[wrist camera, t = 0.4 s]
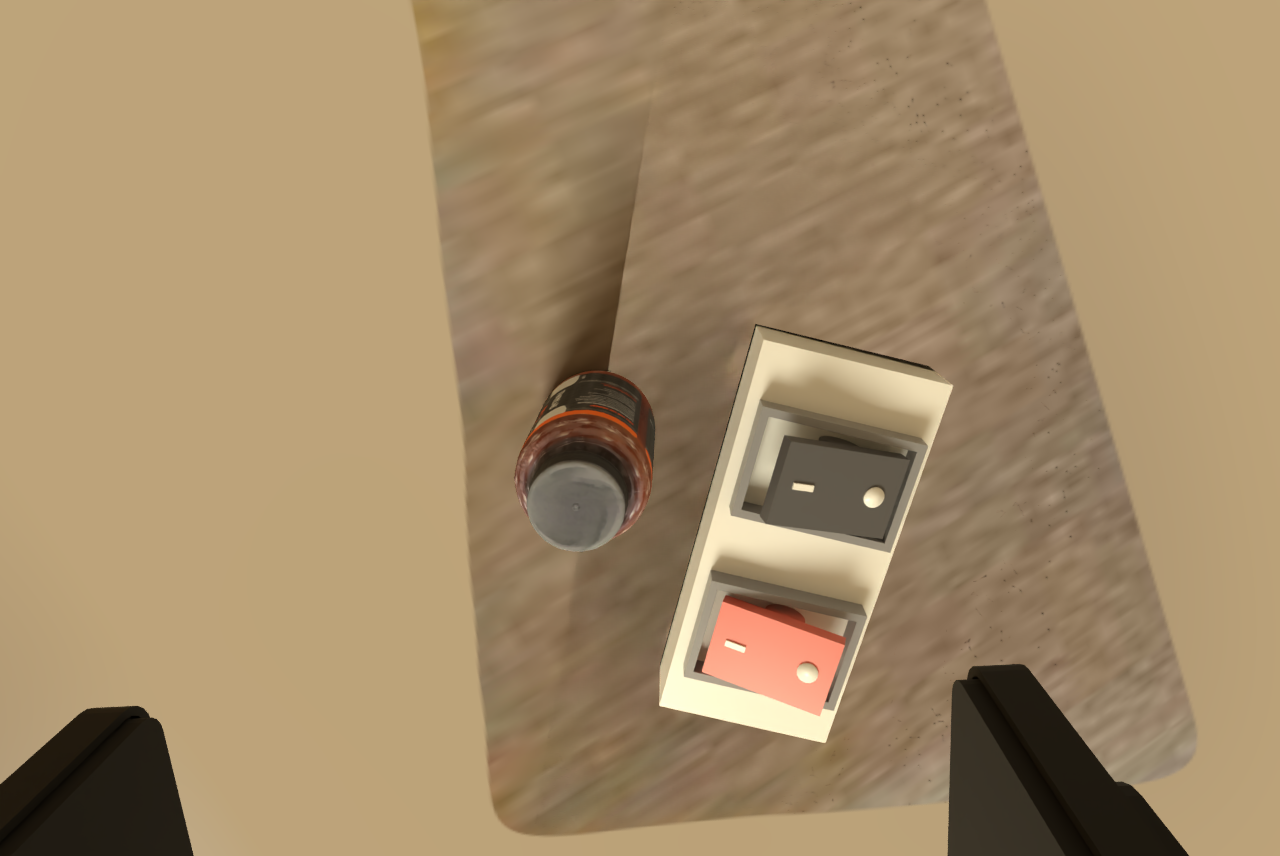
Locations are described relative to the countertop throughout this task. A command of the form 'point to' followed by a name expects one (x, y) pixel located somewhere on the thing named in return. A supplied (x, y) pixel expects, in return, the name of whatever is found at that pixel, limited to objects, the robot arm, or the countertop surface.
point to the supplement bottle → (587, 461)
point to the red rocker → (774, 653)
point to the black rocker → (833, 487)
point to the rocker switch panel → (785, 556)
